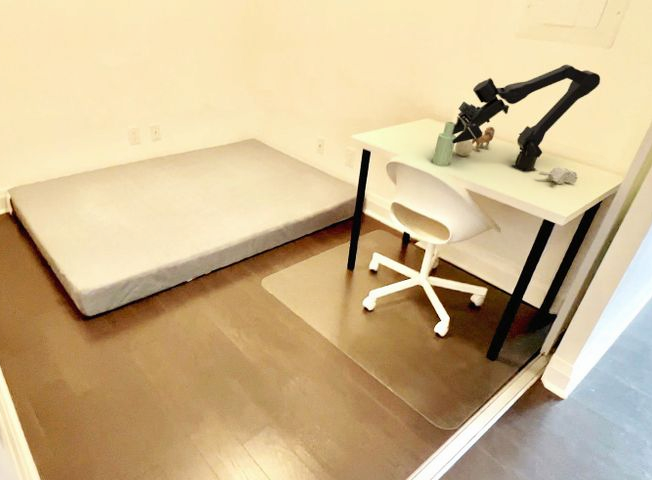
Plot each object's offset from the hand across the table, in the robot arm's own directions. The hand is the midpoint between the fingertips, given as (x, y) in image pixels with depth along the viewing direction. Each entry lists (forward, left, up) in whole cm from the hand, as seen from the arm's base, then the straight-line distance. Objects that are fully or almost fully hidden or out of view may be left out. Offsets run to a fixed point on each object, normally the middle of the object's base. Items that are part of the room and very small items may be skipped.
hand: (450, 138), depth 170 cm
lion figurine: (+10, -28, -10) cm, 31 cm away
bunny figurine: (-30, -29, -10) cm, 43 cm away
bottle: (+1, +1, -10) cm, 10 cm away
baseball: (+5, -14, -10) cm, 18 cm away
